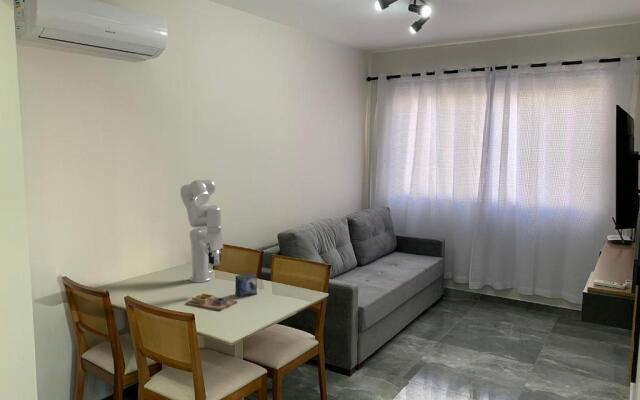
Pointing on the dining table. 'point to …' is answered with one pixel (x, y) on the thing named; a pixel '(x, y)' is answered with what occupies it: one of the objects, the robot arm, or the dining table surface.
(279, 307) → the dining table surface
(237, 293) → the small box
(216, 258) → the pipe fitting
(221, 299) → the fitting board
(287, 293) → the dining table surface
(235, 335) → the dining table surface
